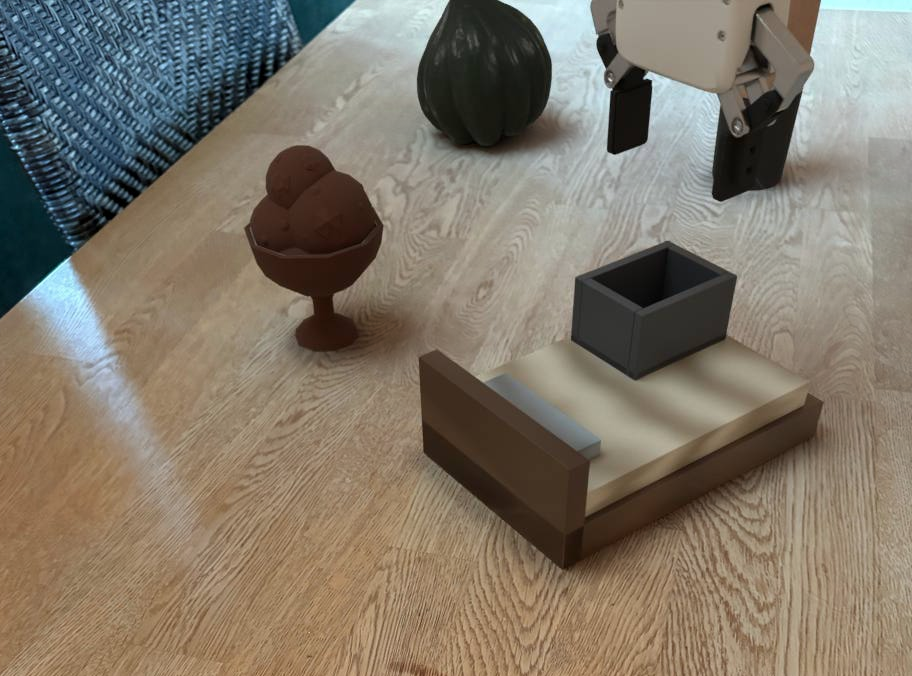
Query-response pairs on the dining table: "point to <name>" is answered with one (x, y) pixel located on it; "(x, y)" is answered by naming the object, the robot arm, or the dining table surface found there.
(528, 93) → the squash
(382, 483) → the dining table surface
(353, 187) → the ice cream bowl
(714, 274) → the basket
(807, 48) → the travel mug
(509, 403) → the bed
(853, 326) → the dining table surface
